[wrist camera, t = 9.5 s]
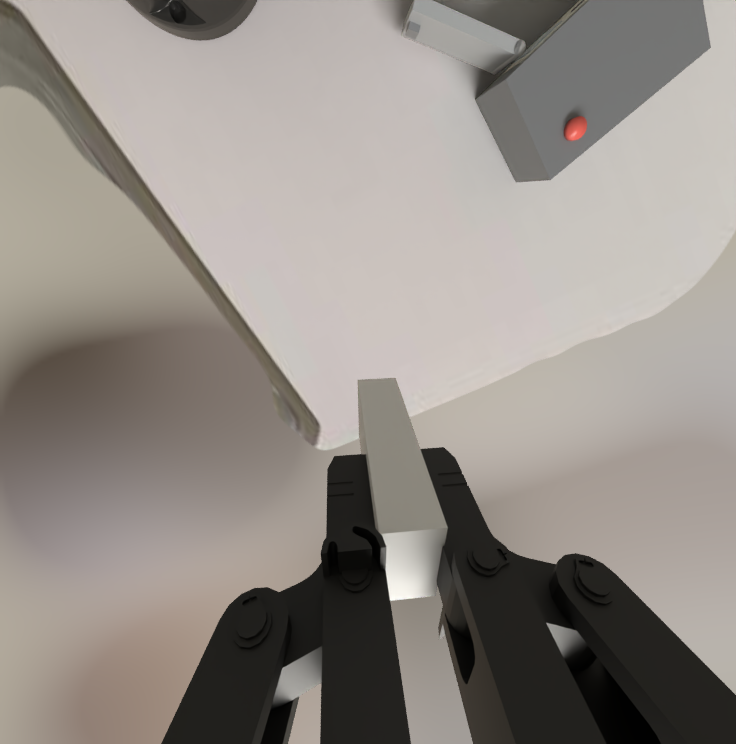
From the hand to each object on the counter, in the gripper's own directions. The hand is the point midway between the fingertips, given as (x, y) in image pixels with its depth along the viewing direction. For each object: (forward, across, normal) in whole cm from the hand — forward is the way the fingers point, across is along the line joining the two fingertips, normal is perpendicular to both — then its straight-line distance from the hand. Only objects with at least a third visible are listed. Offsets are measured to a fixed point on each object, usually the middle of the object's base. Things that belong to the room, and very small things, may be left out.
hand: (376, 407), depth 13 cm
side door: (+31, +11, +20) cm, 39 cm away
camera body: (+32, +25, +19) cm, 45 cm away
